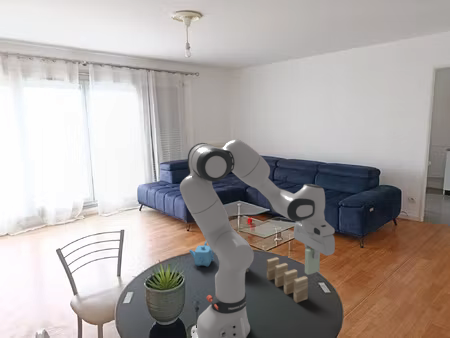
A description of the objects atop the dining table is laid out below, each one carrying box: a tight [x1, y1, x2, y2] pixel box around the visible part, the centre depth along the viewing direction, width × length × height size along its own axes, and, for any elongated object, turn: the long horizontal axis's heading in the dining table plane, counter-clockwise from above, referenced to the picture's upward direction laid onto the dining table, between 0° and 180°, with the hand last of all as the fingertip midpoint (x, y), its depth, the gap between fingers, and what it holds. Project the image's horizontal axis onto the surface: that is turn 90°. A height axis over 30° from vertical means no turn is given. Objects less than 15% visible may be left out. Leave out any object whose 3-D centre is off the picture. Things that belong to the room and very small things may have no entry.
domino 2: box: [274, 262, 289, 288], centre depth 146 cm, size 2×6×10 cm, turn 116°
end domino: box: [304, 247, 321, 276], centre depth 124 cm, size 2×6×10 cm, turn 116°
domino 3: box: [283, 268, 298, 295], centre depth 140 cm, size 2×6×10 cm, turn 116°
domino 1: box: [266, 256, 280, 281], centre depth 152 cm, size 2×6×10 cm, turn 116°
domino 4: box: [293, 275, 309, 304], centre depth 133 cm, size 2×6×10 cm, turn 116°
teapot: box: [188, 240, 215, 268], centre depth 170 cm, size 18×14×10 cm
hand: (312, 256), depth 124 cm, fingers closed on end domino, 2 cm apart
